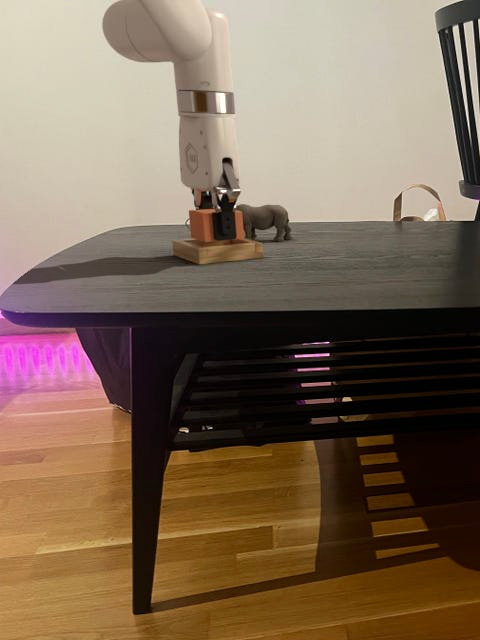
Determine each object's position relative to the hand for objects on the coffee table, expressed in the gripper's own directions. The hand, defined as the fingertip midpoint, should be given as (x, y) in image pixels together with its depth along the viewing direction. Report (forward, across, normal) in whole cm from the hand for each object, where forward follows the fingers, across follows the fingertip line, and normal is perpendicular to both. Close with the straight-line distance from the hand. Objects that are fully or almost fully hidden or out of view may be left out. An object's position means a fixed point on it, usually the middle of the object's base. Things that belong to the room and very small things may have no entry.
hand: (217, 235), depth 103 cm
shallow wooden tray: (+3, 0, 0) cm, 3 cm away
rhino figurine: (+3, -11, +11) cm, 16 cm away
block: (0, 0, 0) cm, 0 cm away
